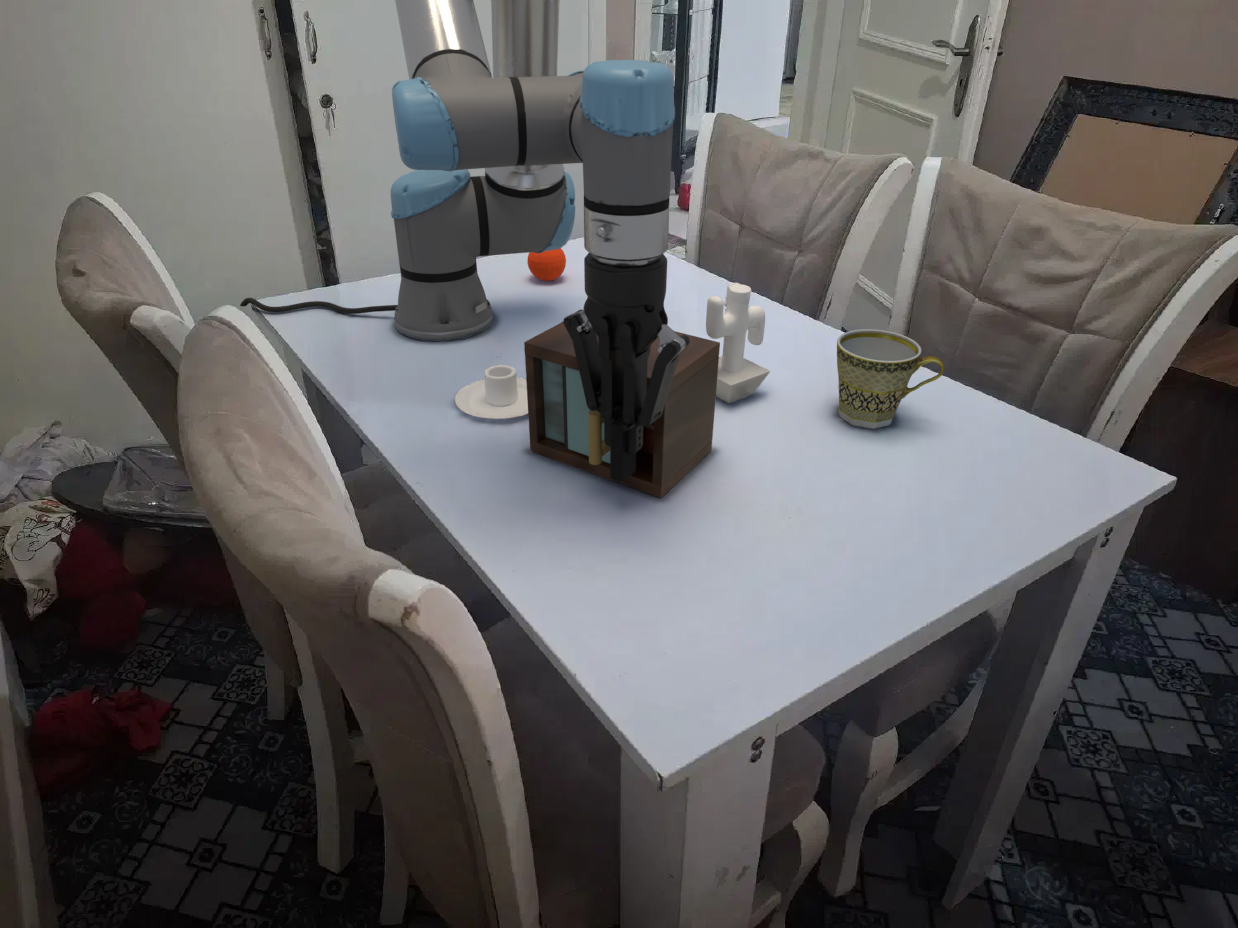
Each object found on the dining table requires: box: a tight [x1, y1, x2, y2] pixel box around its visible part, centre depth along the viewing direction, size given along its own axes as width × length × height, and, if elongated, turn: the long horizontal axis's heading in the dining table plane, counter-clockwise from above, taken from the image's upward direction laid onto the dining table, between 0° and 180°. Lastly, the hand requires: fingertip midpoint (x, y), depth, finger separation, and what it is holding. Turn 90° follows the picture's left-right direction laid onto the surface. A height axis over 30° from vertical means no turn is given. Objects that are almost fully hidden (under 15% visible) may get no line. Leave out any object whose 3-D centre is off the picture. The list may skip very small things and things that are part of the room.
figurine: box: [705, 282, 771, 404], centre depth 106 cm, size 7×9×15 cm
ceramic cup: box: [836, 328, 945, 430], centre depth 102 cm, size 13×10×10 cm
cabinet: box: [523, 321, 721, 499], centre depth 93 cm, size 18×12×14 cm, turn 57°
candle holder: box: [454, 364, 528, 420], centre depth 107 cm, size 12×12×4 cm
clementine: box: [526, 248, 567, 282], centre depth 147 cm, size 8×7×7 cm
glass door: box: [562, 366, 623, 465], centre depth 88 cm, size 8×5×10 cm, turn 57°
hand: (623, 474), depth 86 cm, fingers closed
